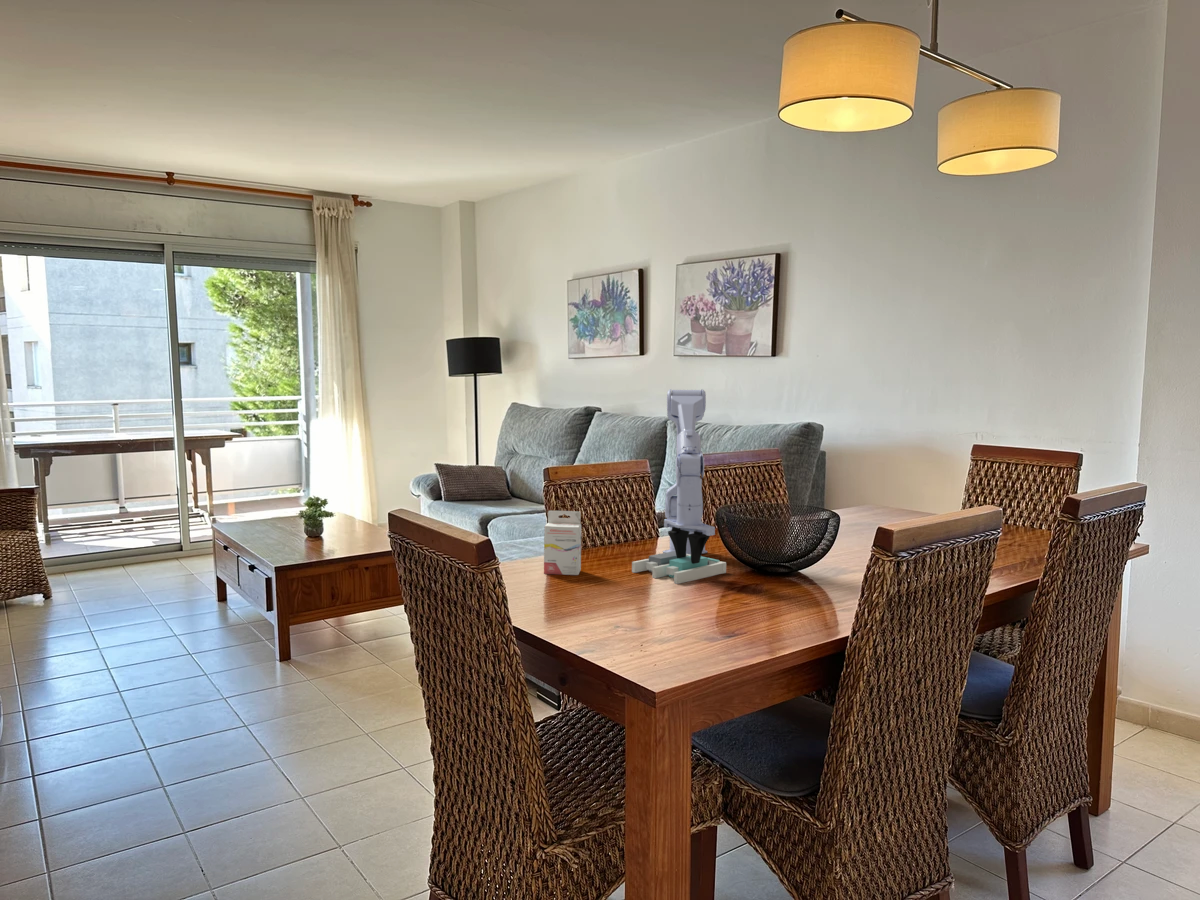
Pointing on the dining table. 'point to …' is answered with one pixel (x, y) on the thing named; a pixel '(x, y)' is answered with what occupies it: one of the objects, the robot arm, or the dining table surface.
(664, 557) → the grey plug
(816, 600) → the dining table surface
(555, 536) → the ink cartridge box
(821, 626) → the dining table surface
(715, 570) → the cable comb
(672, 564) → the teal plug
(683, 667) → the dining table surface
